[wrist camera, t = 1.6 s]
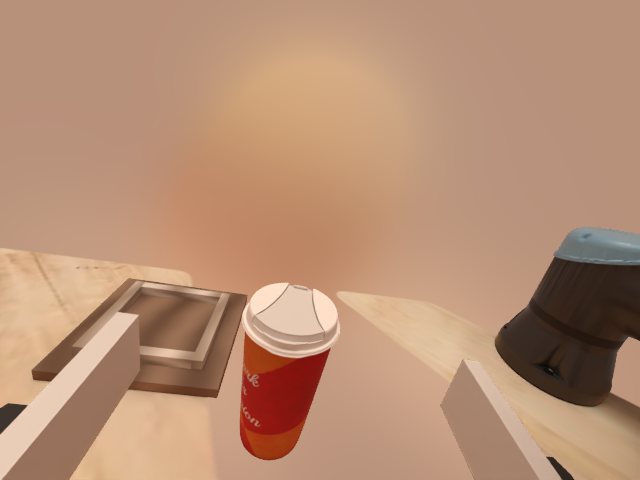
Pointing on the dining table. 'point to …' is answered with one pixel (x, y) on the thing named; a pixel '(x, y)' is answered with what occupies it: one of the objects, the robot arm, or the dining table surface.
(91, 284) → the dining table surface
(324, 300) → the coffee cup
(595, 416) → the dining table surface
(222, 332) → the walnut board
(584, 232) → the robot arm
